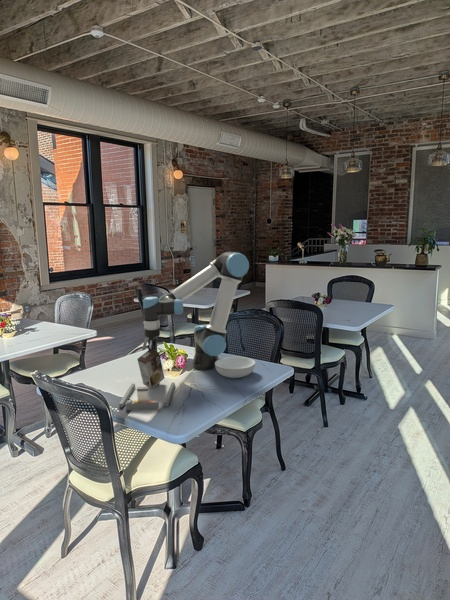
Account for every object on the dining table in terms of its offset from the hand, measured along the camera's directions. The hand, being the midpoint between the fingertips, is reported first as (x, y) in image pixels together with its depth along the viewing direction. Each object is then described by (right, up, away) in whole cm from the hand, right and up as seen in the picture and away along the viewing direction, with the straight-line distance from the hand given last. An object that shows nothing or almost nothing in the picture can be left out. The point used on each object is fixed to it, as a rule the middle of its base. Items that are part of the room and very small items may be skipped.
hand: (154, 373), depth 221 cm
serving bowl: (+41, -2, +5) cm, 41 cm away
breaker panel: (0, -8, -20) cm, 22 cm away
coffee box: (+1, -3, -5) cm, 6 cm away
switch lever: (0, -9, -29) cm, 30 cm away
